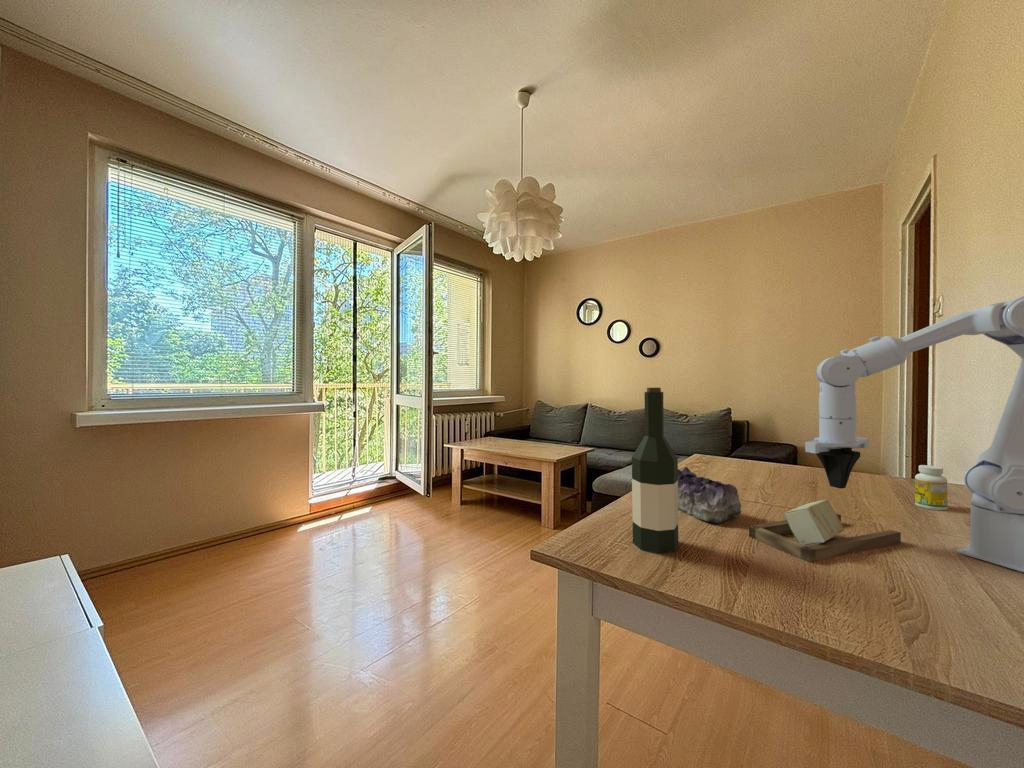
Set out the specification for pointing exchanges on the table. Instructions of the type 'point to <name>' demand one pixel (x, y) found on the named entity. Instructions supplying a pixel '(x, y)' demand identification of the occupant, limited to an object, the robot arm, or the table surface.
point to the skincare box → (814, 522)
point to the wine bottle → (655, 483)
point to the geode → (707, 497)
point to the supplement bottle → (931, 488)
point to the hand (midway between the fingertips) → (837, 487)
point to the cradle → (773, 531)
